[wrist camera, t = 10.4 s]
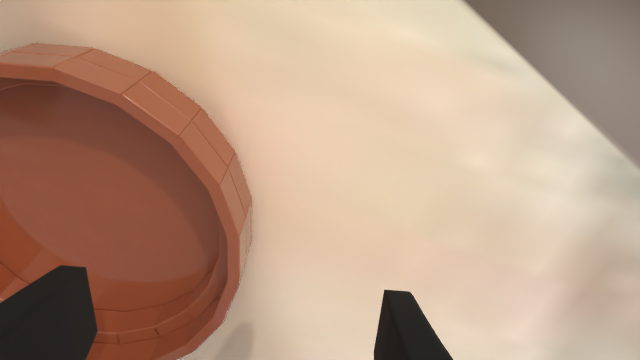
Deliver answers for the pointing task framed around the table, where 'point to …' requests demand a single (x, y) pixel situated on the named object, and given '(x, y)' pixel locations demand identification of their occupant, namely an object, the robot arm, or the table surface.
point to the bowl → (119, 198)
